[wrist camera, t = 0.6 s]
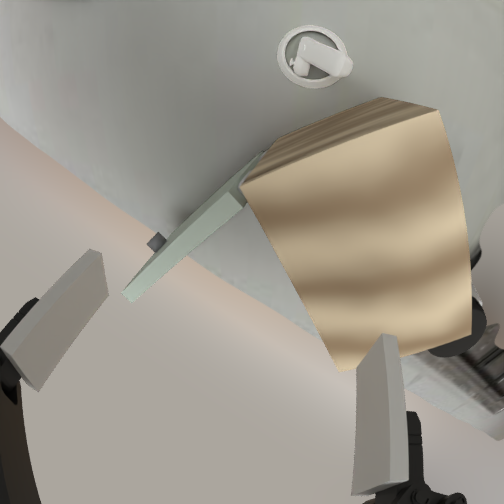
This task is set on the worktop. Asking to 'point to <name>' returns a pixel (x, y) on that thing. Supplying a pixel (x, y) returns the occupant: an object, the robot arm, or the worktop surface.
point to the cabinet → (369, 227)
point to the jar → (470, 340)
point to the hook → (315, 58)
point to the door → (191, 232)
